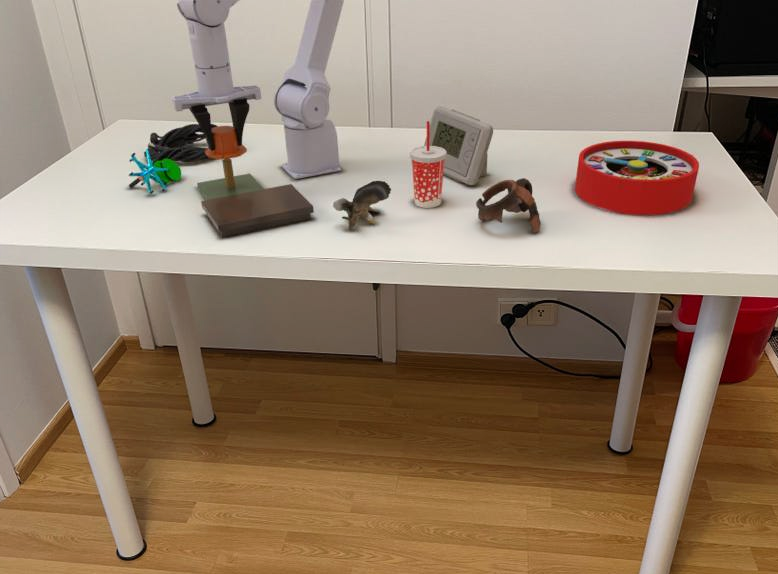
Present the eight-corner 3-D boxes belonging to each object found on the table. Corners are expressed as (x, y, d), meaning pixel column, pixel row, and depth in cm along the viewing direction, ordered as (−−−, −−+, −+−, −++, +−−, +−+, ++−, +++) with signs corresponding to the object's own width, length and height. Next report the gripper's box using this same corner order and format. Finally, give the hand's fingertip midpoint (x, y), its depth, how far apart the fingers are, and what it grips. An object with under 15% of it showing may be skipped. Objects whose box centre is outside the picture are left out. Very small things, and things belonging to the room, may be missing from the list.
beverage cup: (427, 192, 132) (427, 113, 124) (452, 202, 129) (454, 121, 121) (402, 202, 129) (401, 121, 121) (428, 212, 125) (428, 129, 117)
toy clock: (684, 189, 116) (562, 168, 125) (677, 224, 120) (558, 201, 128) (710, 150, 131) (599, 134, 139) (703, 182, 134) (594, 164, 142)
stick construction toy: (147, 189, 130) (127, 148, 129) (123, 207, 133) (103, 167, 133) (193, 185, 140) (175, 147, 140) (170, 202, 144) (152, 165, 143)
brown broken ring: (536, 244, 116) (512, 202, 111) (485, 256, 122) (461, 216, 118) (557, 198, 122) (535, 157, 118) (508, 212, 129) (486, 173, 124)
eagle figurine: (380, 229, 117) (401, 199, 123) (353, 193, 114) (376, 164, 120) (348, 245, 122) (369, 214, 128) (321, 210, 119) (344, 181, 125)
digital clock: (417, 162, 145) (417, 107, 139) (458, 155, 148) (460, 101, 142) (454, 191, 133) (456, 132, 126) (498, 183, 135) (502, 125, 129)
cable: (237, 141, 157) (234, 121, 155) (226, 165, 146) (223, 143, 143) (156, 143, 157) (152, 123, 154) (138, 167, 145) (134, 145, 143)
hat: (239, 143, 133) (236, 121, 131) (250, 154, 128) (247, 131, 126) (202, 149, 131) (198, 127, 129) (211, 161, 126) (207, 138, 124)
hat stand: (250, 178, 140) (246, 146, 136) (266, 196, 132) (262, 163, 129) (197, 188, 136) (191, 156, 133) (211, 207, 129) (205, 173, 125)
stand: (292, 197, 132) (291, 183, 130) (314, 219, 124) (313, 205, 122) (203, 214, 126) (200, 200, 125) (220, 239, 118) (217, 225, 116)
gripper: (172, 75, 116) (188, 160, 124) (262, 64, 121) (272, 146, 129) (163, 66, 121) (179, 148, 129) (249, 55, 126) (260, 134, 134)
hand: (225, 146), depth 129 cm, fingers closed on hat, 4 cm apart
